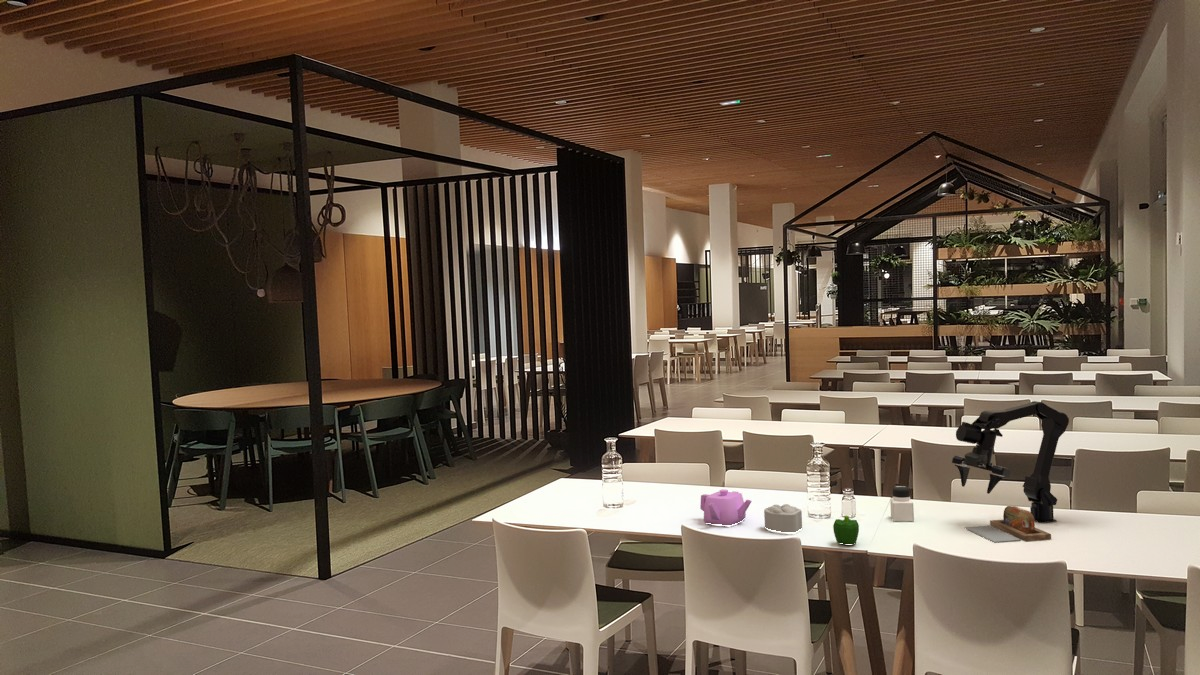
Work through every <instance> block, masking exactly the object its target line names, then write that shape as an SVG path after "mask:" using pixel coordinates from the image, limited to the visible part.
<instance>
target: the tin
mask: <svg viewBox="0 0 1200 675" xmlns="http://www.w3.org/2000/svg"><path fill="white" fill-rule="evenodd" d="M1002 517H1003V519H1004V523H1005V525H1008V526H1010V527H1012V528H1015V529H1017V530H1019V531H1021V532H1024V533H1026V534H1033V532H1034V530H1035V528H1036V523H1035V522H1036V521H1035V519H1034V517H1033V515H1032V513H1031V511H1029V510H1027V509H1023V508H1021V507H1018V506H1015V505H1013V506H1012V505H1008V506H1006V507H1005V508H1004V510H1003V515H1002ZM1003 519H1002V520H1003Z"/></svg>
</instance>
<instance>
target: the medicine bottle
mask: <svg viewBox="0 0 1200 675" xmlns="http://www.w3.org/2000/svg"><path fill="white" fill-rule="evenodd" d="M889 501H890V502H889V503H890V505H889V506H890V517H891V519H892V521H893V522H894V521H913V522H914V521H915V517H914V516H915V514H914V512H915V511H914V502H913V500H912V499H911V489H910V488H909V487H907V486H905V485H903V486H902V485H900V486H899V485H898V486H895V487H893V488H892V497H891V498H890V499H889Z"/></svg>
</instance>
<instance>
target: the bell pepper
mask: <svg viewBox="0 0 1200 675" xmlns="http://www.w3.org/2000/svg"><path fill="white" fill-rule="evenodd" d="M832 528H833V535H834V538H835V540H836V542H837V543H843V544H854V543H855V544H856V543H857V540H858V536H859V530H860V524H859V523H858V521H857V519H850V517H849V515H844V518H843V519H840V518H837V519H835V520H834V523H833V525H832ZM843 544H842V545H843ZM855 544H854V545H855Z"/></svg>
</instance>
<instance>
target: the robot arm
mask: <svg viewBox="0 0 1200 675" xmlns="http://www.w3.org/2000/svg"><path fill="white" fill-rule="evenodd" d="M1034 415H1035V417H1037V418H1038V419H1039V420H1041V426H1040V427H1041V430H1042V432H1043V433H1042V434H1043V435H1042V437H1041V441H1040V442H1041V444H1040V447H1039V450H1038V454H1037V458H1036V461H1035V466H1034V470H1033V472H1032V474H1031V475H1030V476H1029V475H1026V476H1025V477H1024V482H1023V484H1022V488H1023V494H1025V496H1026V497H1027V500H1028V502H1031V506H1030V509H1029V510H1030V511H1029V512H1031V513H1032V515H1033V517H1034V519H1035V522H1037V523H1041V524H1042V523H1053V522H1057V519H1055V518H1054V506H1056V505H1057V502H1058V498H1057V497H1056V496H1054V494H1052V493H1051V491H1052V490H1051V489H1052V488H1051V487H1052V485H1051V482H1050V473H1051V468H1052V466H1053V463H1054V462H1053V460H1054V458H1055V455H1056V454H1055V453H1056V451H1057V445H1058V442H1059V439H1060V437H1061V436H1062V435H1064V433H1065V432H1066V431H1067V428H1068V425H1069V423H1070V419H1069V417H1068V415H1067V414H1066V413H1065V412H1060V411H1058V410H1056V409H1055V408H1052V407H1050V406H1049V405H1047V404H1046V403H1044V402H1041V401H1037V400H1034V401H1031V402H1028V403H1024V404H1020V405H1017V406H1013V407H1009V408H1005V409H993V410H992V409H991V410H989V409H988V410H983V411H981V412H980V414H979V417H977V418H976V419H975V420H974V421H973V422H972V423H969V422H967V421H966V422H965V421H962V422H961V424H960V425H959V426H958V427H957V428H956V430H955V431H956V432H955V438H956V440H957V441H959V442H964V443H967V444H972V445H975V446H973V448H972V451H970V452H967V453H965V454H964V456H960V455H954V456H952V458H951V464H954V466H955V467H956V468H957V469H958V471H959V474H960V475H959V476H960V482H961V486H962V487H964V488H965V485H966V483H967V482H968V477H969V473H970V470H971V467H973V468H978V469H982V470H985V471H989V472H992V473H989V482H988V485H987V489H986V494H989V495H990V493H991V492H992V491H993V490H994V488H996V486H997V485H998V483H999V482H1000V481H1002V480H1003V479H1006V478H1007V477H1008V478H1009V477H1010V475H1011V469H1010V468H1007V467H1003V466H1001V465H995V464H994V465H993V462H992V457H993V455H995V452H996V451H994V449H995V444H996V439H997V437H1001V438H1003V433H1001V431H1000V428H1002V427H1003V426H1006V425H1007V424H1009V423H1010V422H1012V421H1015V420H1019V419H1022V418H1027V417H1031V416H1034ZM969 466H970V467H969Z"/></svg>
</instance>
